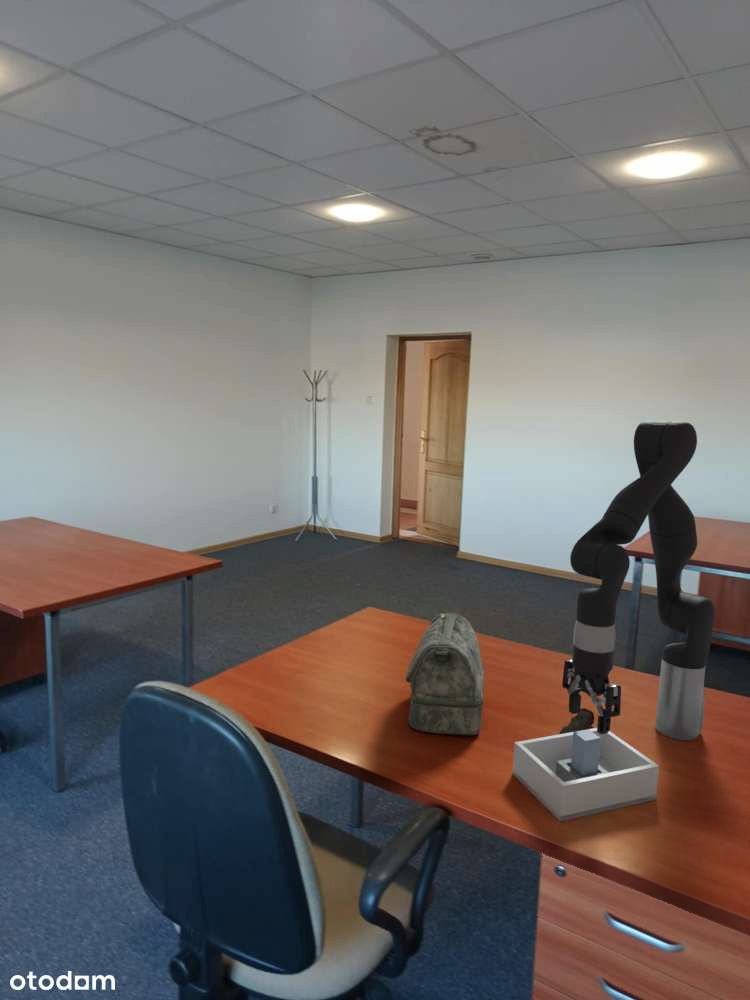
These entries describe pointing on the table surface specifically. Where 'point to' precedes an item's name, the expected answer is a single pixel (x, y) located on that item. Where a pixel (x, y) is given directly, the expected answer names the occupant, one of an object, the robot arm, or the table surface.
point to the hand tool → (579, 721)
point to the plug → (585, 752)
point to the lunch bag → (447, 678)
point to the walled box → (573, 796)
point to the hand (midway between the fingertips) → (588, 722)
